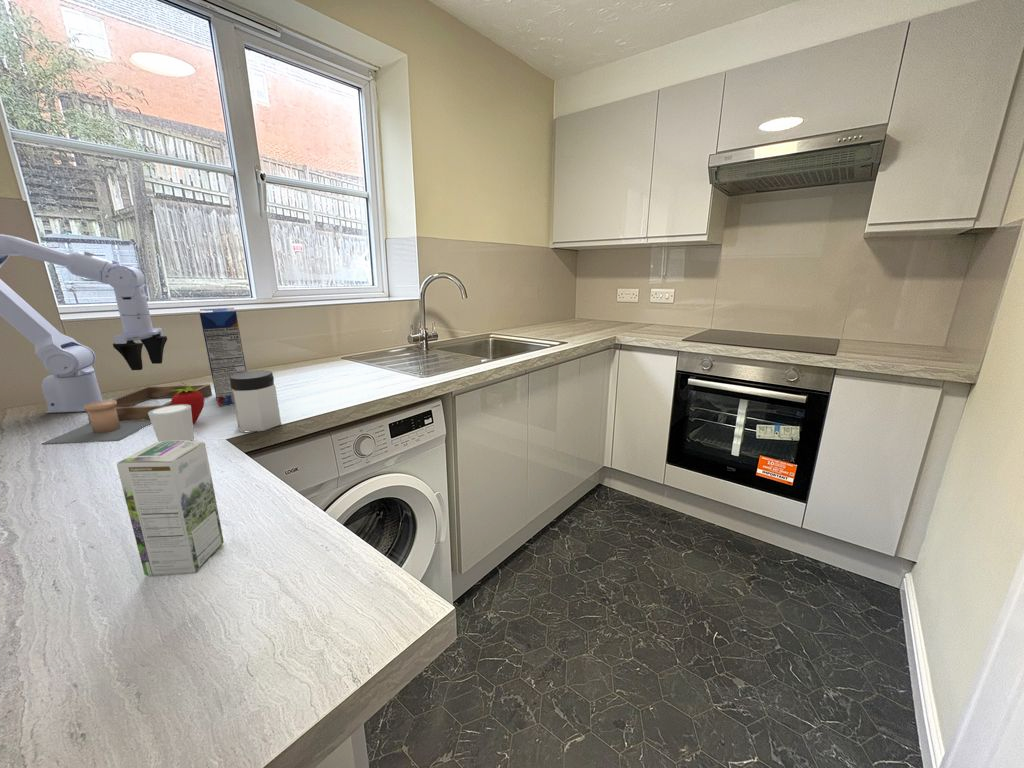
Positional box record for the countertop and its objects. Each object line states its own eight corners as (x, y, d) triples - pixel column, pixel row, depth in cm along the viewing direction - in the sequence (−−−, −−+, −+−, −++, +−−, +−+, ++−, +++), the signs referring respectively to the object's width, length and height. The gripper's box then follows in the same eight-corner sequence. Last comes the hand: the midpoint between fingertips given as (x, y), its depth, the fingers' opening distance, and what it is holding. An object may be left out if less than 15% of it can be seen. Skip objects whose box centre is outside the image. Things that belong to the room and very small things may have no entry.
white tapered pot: (205, 437, 87) (199, 405, 86) (170, 450, 81) (162, 416, 79) (183, 433, 90) (176, 402, 88) (147, 445, 83) (139, 412, 81)
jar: (284, 427, 93) (276, 375, 90) (241, 436, 88) (231, 381, 85) (276, 416, 100) (268, 368, 97) (236, 424, 95) (226, 373, 92)
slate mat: (41, 444, 84) (41, 443, 84) (90, 423, 95) (90, 422, 95) (119, 440, 86) (119, 439, 86) (158, 420, 97) (158, 419, 97)
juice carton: (217, 395, 116) (199, 309, 110) (248, 391, 120) (233, 307, 114) (218, 406, 107) (199, 312, 100) (251, 401, 111) (235, 311, 105)
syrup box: (178, 545, 53) (152, 440, 49) (227, 543, 53) (205, 438, 50) (144, 577, 48) (111, 461, 44) (198, 574, 48) (171, 459, 44)
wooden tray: (89, 422, 96) (86, 409, 95) (149, 396, 115) (146, 386, 114) (165, 418, 98) (163, 406, 97) (212, 394, 117) (210, 384, 116)
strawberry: (173, 430, 91) (163, 386, 88) (180, 420, 97) (170, 378, 95) (206, 426, 94) (197, 383, 91) (210, 416, 100) (202, 375, 97)
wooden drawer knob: (83, 434, 88) (76, 407, 87) (103, 425, 93) (96, 400, 91) (111, 433, 89) (103, 406, 87) (129, 424, 94) (122, 399, 92)
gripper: (131, 317, 99) (145, 372, 103) (170, 311, 113) (181, 360, 117) (98, 317, 98) (113, 373, 102) (141, 312, 112) (153, 361, 116)
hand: (147, 366), depth 109 cm, fingers open, 7 cm apart
